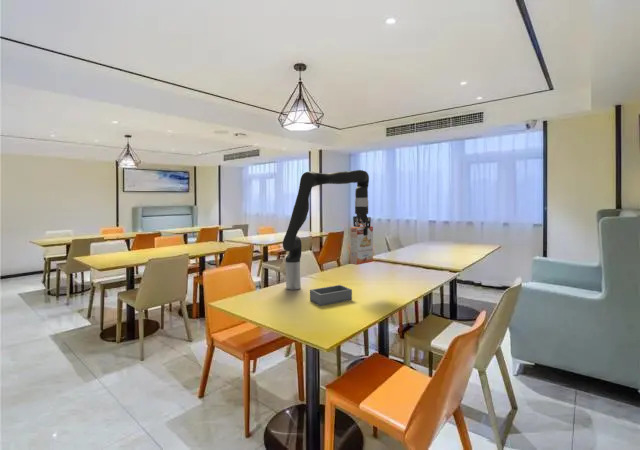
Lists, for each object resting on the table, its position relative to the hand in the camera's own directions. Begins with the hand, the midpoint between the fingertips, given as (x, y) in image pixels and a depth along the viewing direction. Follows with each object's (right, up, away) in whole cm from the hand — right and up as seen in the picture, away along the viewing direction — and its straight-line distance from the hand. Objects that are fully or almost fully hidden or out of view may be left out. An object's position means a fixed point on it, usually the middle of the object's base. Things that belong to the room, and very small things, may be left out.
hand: (361, 234), depth 192 cm
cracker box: (0, -16, +1) cm, 17 cm away
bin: (-18, -36, -5) cm, 41 cm away
